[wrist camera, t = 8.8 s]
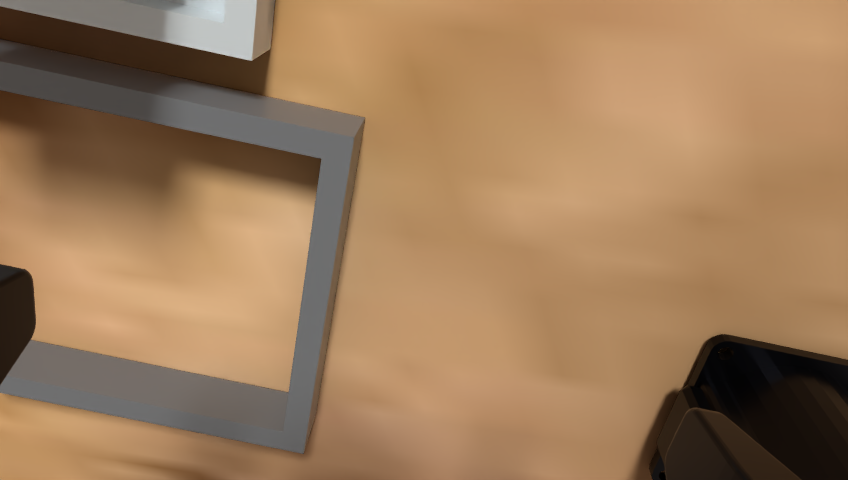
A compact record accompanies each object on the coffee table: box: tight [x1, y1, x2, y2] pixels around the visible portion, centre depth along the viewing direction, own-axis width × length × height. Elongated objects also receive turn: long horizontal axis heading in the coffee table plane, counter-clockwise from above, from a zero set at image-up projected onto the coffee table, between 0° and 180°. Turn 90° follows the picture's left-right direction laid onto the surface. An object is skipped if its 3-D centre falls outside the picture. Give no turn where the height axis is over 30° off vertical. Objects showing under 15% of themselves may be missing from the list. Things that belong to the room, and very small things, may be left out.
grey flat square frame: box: [0, 39, 365, 454], centre depth 21 cm, size 12×12×2 cm
